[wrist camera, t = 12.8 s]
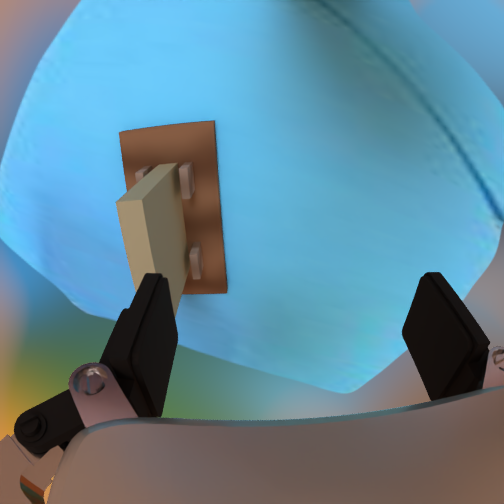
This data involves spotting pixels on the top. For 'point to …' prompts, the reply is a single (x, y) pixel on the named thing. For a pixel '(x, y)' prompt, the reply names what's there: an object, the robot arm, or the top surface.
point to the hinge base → (186, 191)
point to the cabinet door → (156, 229)
